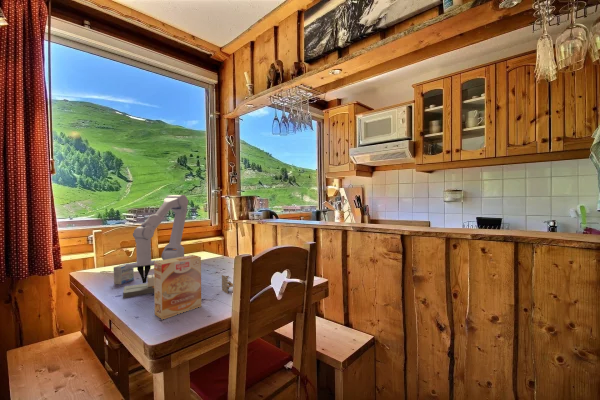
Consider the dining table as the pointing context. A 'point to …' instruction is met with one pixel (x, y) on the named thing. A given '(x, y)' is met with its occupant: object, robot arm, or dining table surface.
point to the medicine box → (123, 274)
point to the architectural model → (226, 284)
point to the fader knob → (150, 280)
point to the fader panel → (137, 290)
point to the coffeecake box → (177, 285)
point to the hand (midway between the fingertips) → (144, 282)
